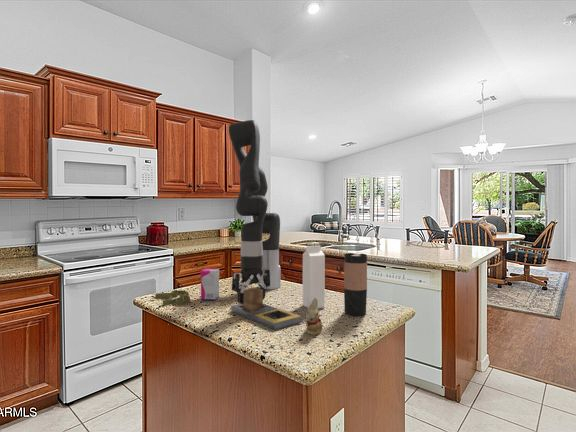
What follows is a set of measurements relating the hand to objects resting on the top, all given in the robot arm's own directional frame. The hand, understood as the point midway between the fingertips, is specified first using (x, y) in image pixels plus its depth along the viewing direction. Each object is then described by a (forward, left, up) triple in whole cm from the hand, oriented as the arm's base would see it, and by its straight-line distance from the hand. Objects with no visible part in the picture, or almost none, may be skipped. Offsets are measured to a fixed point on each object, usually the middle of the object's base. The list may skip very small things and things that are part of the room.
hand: (251, 301), depth 120 cm
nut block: (0, 0, -4) cm, 4 cm away
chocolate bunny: (-3, +27, -4) cm, 27 cm away
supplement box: (+2, -25, -4) cm, 26 cm away
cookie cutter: (+13, -33, -4) cm, 36 cm away
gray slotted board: (0, +7, -4) cm, 8 cm away
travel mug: (-26, +24, -4) cm, 36 cm away
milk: (-21, +9, -4) cm, 23 cm away
